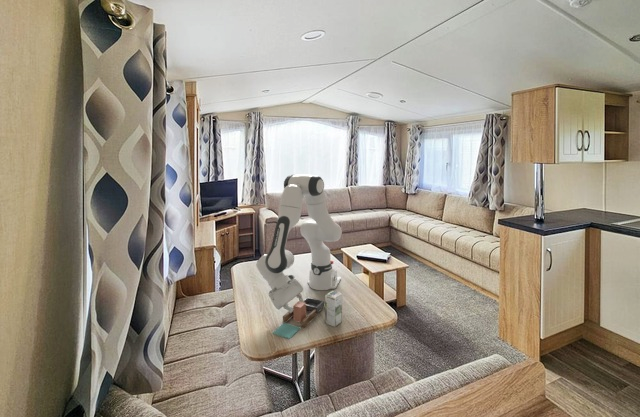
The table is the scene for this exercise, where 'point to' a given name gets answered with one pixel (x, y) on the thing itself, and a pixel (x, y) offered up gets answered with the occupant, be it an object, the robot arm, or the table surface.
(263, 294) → the table surface
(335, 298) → the syrup box
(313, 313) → the parallel wooden rails
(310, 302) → the tray
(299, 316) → the block
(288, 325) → the mat
